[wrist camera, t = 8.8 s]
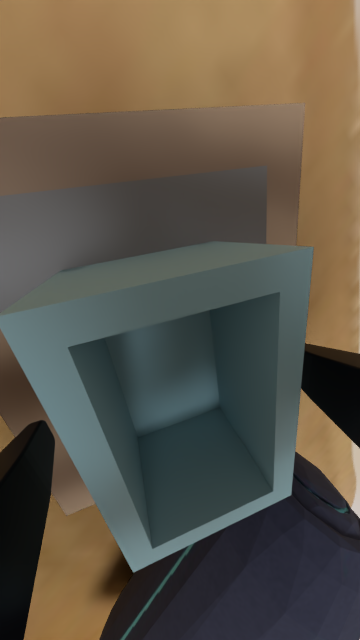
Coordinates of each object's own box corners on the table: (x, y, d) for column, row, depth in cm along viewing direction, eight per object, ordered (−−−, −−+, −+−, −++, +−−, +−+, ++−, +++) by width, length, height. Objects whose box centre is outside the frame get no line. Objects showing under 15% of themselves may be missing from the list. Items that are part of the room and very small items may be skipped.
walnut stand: (262, 402, 18) (288, 431, 15) (73, 472, 15) (65, 524, 12) (263, 131, 11) (313, 97, 8) (-99, 159, 8) (-210, 119, 5)
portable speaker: (164, 585, 25) (209, 769, 17) (73, 621, 20) (72, 919, 11) (289, 414, 20) (438, 552, 12) (214, 401, 15) (387, 635, 7)
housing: (213, 240, 9) (313, 246, 5) (228, 418, 13) (289, 512, 9) (60, 270, 8) (-7, 317, 3) (130, 455, 12) (141, 587, 7)
